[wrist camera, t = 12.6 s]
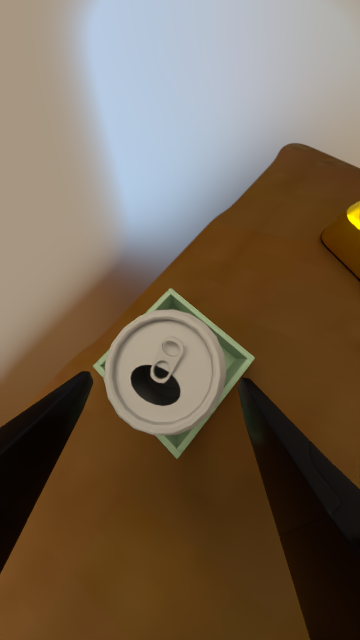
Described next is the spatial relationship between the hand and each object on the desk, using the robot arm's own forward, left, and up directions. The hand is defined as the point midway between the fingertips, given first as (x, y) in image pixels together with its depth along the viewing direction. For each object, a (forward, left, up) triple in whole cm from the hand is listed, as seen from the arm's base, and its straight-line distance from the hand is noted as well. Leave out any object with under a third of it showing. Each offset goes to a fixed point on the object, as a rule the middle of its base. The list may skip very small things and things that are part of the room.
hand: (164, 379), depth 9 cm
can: (+1, 0, -11) cm, 11 cm away
